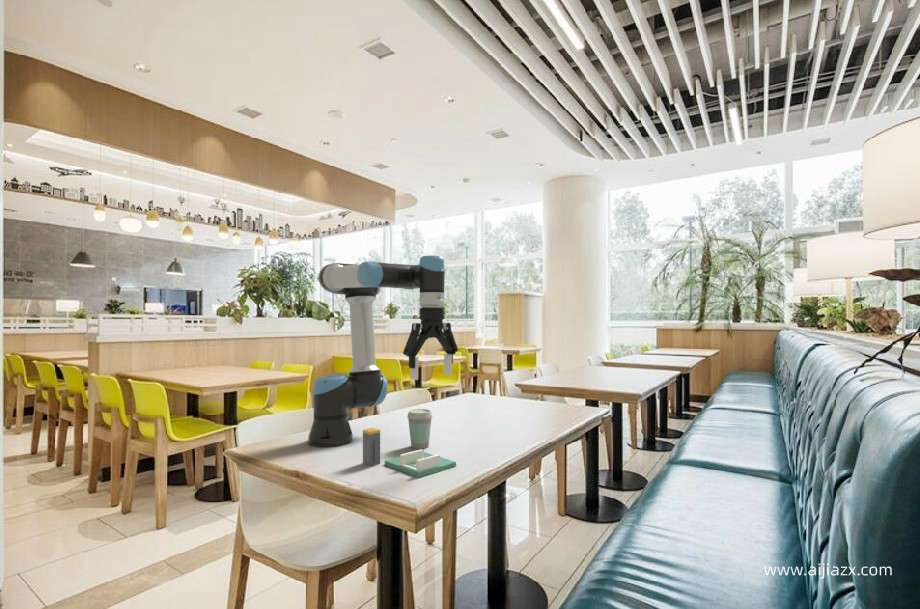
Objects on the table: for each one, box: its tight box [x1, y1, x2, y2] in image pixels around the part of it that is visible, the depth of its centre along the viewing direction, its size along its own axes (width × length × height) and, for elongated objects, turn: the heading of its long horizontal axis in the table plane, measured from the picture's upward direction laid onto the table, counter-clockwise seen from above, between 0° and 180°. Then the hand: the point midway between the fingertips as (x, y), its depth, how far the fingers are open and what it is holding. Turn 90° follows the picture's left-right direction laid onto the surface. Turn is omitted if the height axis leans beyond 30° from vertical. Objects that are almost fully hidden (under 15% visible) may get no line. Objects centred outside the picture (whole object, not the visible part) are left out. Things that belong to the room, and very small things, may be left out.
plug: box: [362, 427, 381, 467], centre depth 140 cm, size 5×4×10 cm
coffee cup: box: [406, 408, 433, 450], centre depth 158 cm, size 8×8×12 cm
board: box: [384, 449, 457, 478], centre depth 137 cm, size 16×14×4 cm
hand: (431, 377), depth 141 cm, fingers open, 13 cm apart
